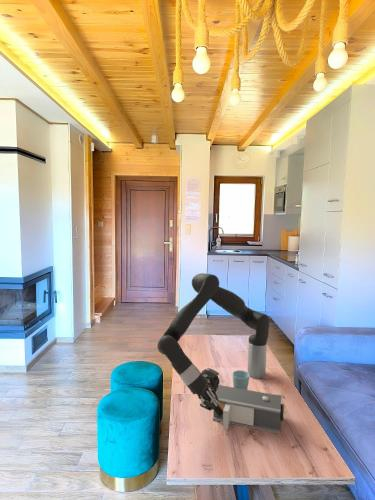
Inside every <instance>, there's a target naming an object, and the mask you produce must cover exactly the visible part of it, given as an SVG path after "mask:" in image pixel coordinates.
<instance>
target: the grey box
mask: <svg viewBox="0 0 375 500" xmlns="http://www.w3.org/2000/svg"><path fill="white" fill-rule="evenodd" d="M215 392H216V394H217V397H218V405H219V406H220V407H221V408H222V410H224V407H225V404H226V403H228V404H234V405H239V406H244V407H249V408H254V424H253V426H252V425H247V424H242V423H238V422H233V421H230V424H231V425H235V426H238V427H245V428H248V429H249V428H250V429H253V430H254V429H255V430H259V431H264V432H268V433H272V434H277V435H280V433H281V432H280V430H281V422H283V421H284V416H285V415H284V412H285V410H284V409H285V404H284V403H282V395H278V394H273V393H268V392H267V393H266V392H261V391H256V390H250V389H247V390H245V389H239V388H234V386H233V387H232V386H226V385H221V384H219V386H218V388H217V389H216V390H215ZM212 421H215V422H220V423H223V415H222V416H221V417H219V416H218V415H217V413H216V412H215V411H214V410H213V417H212ZM230 424H229V425H230Z"/></svg>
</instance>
